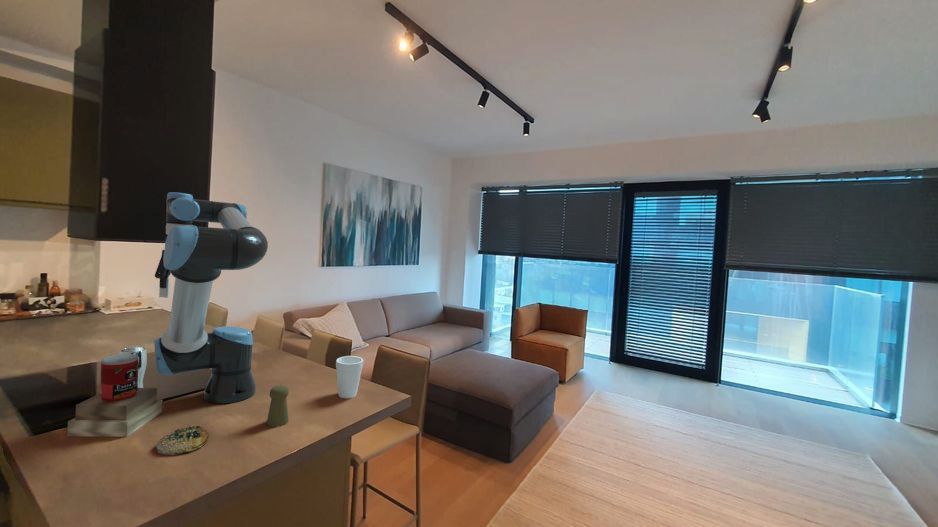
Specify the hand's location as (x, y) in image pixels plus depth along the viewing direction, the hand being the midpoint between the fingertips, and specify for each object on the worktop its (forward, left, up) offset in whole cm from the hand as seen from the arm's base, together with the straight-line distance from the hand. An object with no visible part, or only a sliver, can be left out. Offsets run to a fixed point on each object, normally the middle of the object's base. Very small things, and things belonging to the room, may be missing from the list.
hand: (176, 294), depth 136 cm
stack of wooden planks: (-5, +33, -32) cm, 46 cm away
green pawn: (-47, +31, -32) cm, 65 cm away
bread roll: (-28, +44, -32) cm, 61 cm away
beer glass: (+5, +13, -32) cm, 35 cm away
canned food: (-5, +33, -24) cm, 41 cm away
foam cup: (-64, +10, -32) cm, 72 cm away
